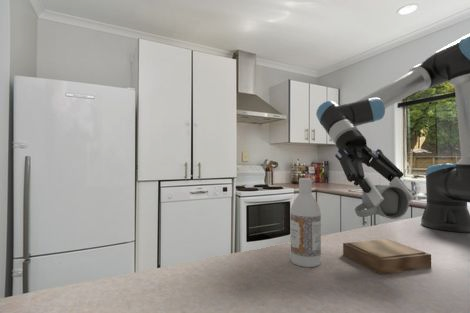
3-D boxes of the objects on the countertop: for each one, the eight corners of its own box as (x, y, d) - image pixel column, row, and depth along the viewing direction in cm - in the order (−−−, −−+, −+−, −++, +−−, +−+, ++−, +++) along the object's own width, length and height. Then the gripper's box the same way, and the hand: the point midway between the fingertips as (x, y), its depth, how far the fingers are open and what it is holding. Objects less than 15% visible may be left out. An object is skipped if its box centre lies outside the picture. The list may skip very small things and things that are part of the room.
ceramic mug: (386, 211, 67) (385, 182, 67) (410, 218, 59) (408, 185, 59) (348, 213, 66) (346, 184, 66) (367, 221, 58) (365, 187, 58)
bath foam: (285, 258, 63) (285, 177, 64) (308, 255, 65) (308, 177, 66) (301, 270, 57) (301, 179, 57) (327, 265, 59) (326, 179, 59)
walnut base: (387, 250, 69) (387, 237, 70) (431, 267, 58) (431, 253, 58) (343, 254, 66) (343, 241, 66) (380, 274, 54) (380, 258, 54)
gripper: (370, 148, 80) (419, 209, 64) (310, 147, 75) (348, 213, 59) (383, 129, 75) (441, 190, 59) (321, 127, 70) (365, 193, 54)
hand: (394, 201), depth 59 cm, fingers closed on ceramic mug, 8 cm apart
